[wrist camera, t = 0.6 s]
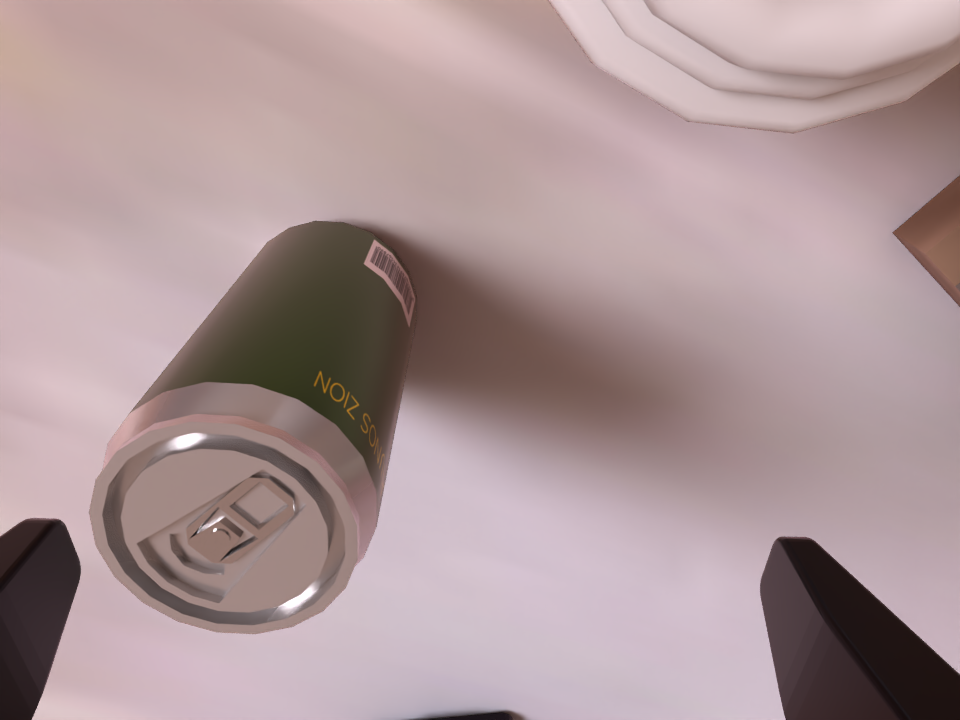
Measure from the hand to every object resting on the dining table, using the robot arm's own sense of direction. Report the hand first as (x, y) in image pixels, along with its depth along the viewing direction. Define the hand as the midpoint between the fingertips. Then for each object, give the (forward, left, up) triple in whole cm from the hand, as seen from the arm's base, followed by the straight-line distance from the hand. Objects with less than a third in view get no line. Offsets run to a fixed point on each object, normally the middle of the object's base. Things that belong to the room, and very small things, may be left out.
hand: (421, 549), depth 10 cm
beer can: (-2, +4, -16) cm, 16 cm away
